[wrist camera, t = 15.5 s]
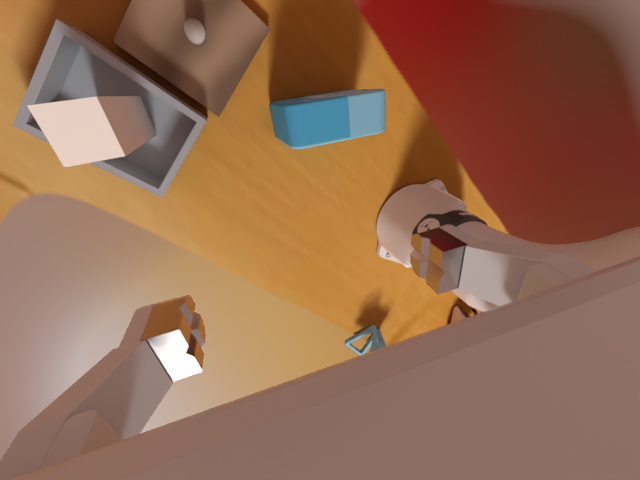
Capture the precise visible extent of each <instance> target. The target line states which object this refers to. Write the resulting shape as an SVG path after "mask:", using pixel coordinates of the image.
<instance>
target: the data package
mask: <svg viewBox="0 0 640 480" xmlns="http://www.w3.org/2000/svg"><path fill="white" fill-rule="evenodd" d="M269 106H270V111H271V116H272V121H273V126H274V131H275V136H276V138H278V139H279V140H281V141H282V142H283V143H285V144H286V145H288V146H289V147H290V148H293V149H303V148H309V147H314V146H319V145H324V144H329V143H334V142H339V141H344V140H349V139H354V138H359V137H364V136H369V135H374V134H378V133H382V132H384V131H385V90H384V89H364V90H345V91H337V92H331V93H325V94H318V95H312V96H306V97H299V98H293V99H287V100H280V101H274V102H270V104H269Z"/></svg>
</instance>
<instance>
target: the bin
mask: <svg viewBox="0 0 640 480" xmlns="http://www.w3.org/2000/svg"><path fill="white" fill-rule="evenodd" d="M97 96H141V98H142V101H143V103H144V106H145V108H146V110H147V113H148V115H149V118H150V120H151V123H152V125H153V128H154V130H155V133H156V136H155V137H153V138H152V139H150V140H149V141H147V142H146V143H144V144H143V145H141V146H140V147H138V148H137V149H135V150H134V151H133V152H131V153H130V154H128V155H127V156H124V157H119V158H113V159H108V160H102V161H96V162H91V164H93V165H95V166H98V167H100V168H102V169H104V170H106V171H108V172H110V173H112V174H114V175H116V176H118V177H120V178H122V179H125V180H127V181H129V182H131V183H133V184H135V185H137V186H139V187H141V188H143V189H145V190H147V191H149V192H151V193H154V194H156V195H158V196H160V197H162V198H163V196H164V194H165V192H166V191H167V189H168V187H169V185H170V184H171V182H172V180H173V178H174V177H175V175H176V173H177V172H178V170H179V168H180V166H181V165H182V163H183V161H184V159H185V158H186V156H187V154H188V152H189V151H190V149H191V147H192V145H193V144H194V142H195V140H196V138H197V137H198V135H199V133H200V132H201V130H202V128H203V126H204V125H205V123H206V121H207V118H208V117H206V116H205V115H203V114H202V113H200V112H199V111H197V110H196V109H195V108H193V107H192V106H190V105H189V104H187V103H186V102H184V101H183V100H181V99H180V98H179V97H177V96H176V95H174V94H173V93H171V92H170V91H168V90H167V89H165V88H164V87H163V86H161V85H160V84H158V83H157V82H155V81H154V80H152V79H151V78H149V77H148V76H146V75H145V74H144V73H142V72H141V71H139V70H138V69H136V68H135V67H133V66H132V65H130V64H129V63H128V62H126V61H125V60H123V59H122V58H120V57H119V56H117V55H116V54H114V53H113V52H112V51H110V50H109V49H107V48H106V47H104V46H103V45H101V44H100V43H98V42H97V41H96V40H94V39H93V38H91V37H90V36H88V35H87V34H85V33H84V32H82V31H81V30H79V29H77V28H75V27H73V26H71V25H69V24H67V23H65V22H63V21H61V20H58V19H56V21H55V24H54V26H53V28H52V31H51V33H50V36H49V38H48V41H47V43H46V45H45V48H44V50H43V53H42V55H41V58H40V60H39V62H38V65H37V67H36V70H35V72H34V74H33V77H32V79H31V82H30V84H29V87H28V89H27V91H26V94H25V96H24V99H23V101H22V104H21V106H20V108H19V111H18V113H17V116H16V118H15V121H14V123H13V126H15V127H17V128H19V129H21V130H23V131H25V132H27V133H29V134H31V135H33V136H35V137H37V138H40V139H42V140H44V141H46V142H48V143H49V141H48V140H47V138H46V136H45V135H44V133H43V131H42V130H41V128H40V126H39V125H38V123H37V122H36V120H35V118H34V117H33V115H32V113H31V112H30V110H29V108H28V107H27V106H28V105H36V104H43V103H51V102H58V101H66V100H74V99H81V98H89V97H97Z"/></svg>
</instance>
